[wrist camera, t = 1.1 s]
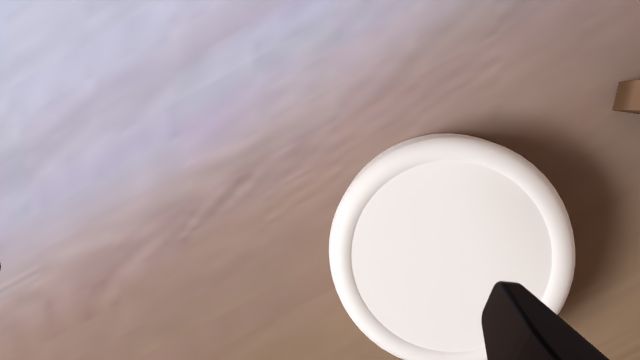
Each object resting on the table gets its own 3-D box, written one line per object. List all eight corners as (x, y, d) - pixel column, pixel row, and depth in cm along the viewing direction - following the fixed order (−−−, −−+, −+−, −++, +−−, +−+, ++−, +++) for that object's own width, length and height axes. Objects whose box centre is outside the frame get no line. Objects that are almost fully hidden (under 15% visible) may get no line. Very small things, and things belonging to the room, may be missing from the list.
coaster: (362, 353, 25) (357, 391, 22) (315, 160, 24) (301, 168, 21) (572, 318, 24) (602, 354, 20) (529, 109, 23) (553, 109, 19)
